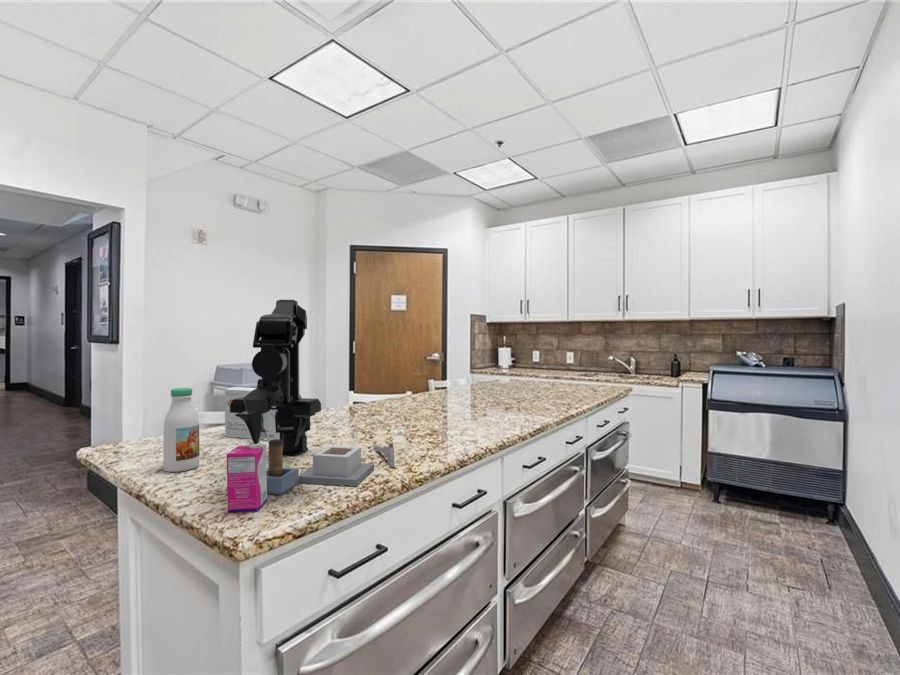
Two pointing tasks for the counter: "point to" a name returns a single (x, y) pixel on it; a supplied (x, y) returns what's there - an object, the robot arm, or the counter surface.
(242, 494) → the supplement box
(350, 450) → the grey square holder
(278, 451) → the brown wooden cylinder
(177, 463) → the milk bottle
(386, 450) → the caliper
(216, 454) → the counter surface
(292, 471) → the blue square tray
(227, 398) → the skincare box
